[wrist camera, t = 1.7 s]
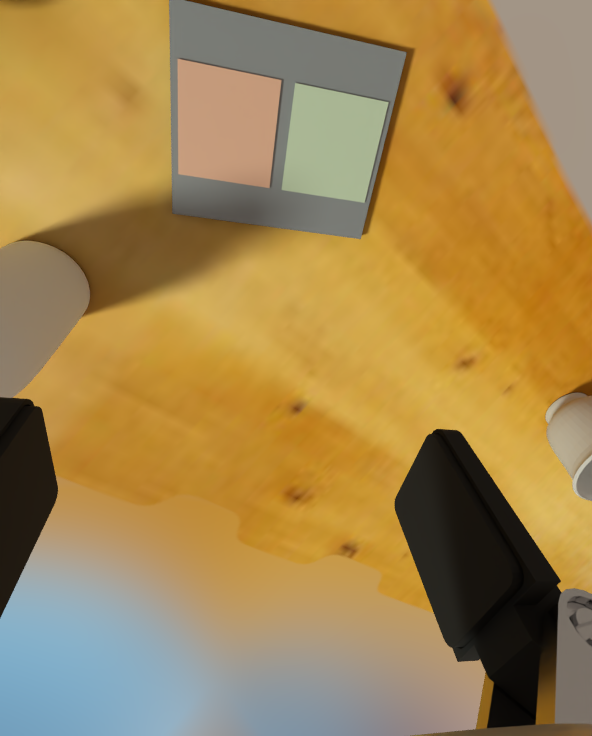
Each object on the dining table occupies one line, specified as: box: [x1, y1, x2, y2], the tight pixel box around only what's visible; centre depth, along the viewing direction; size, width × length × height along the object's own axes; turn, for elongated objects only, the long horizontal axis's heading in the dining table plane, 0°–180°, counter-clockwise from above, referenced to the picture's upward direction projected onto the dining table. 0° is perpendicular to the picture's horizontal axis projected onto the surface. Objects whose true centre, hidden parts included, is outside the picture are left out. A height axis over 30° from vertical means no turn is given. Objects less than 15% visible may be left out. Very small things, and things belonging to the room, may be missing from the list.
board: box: [169, 0, 407, 239], centre depth 29 cm, size 13×16×1 cm
